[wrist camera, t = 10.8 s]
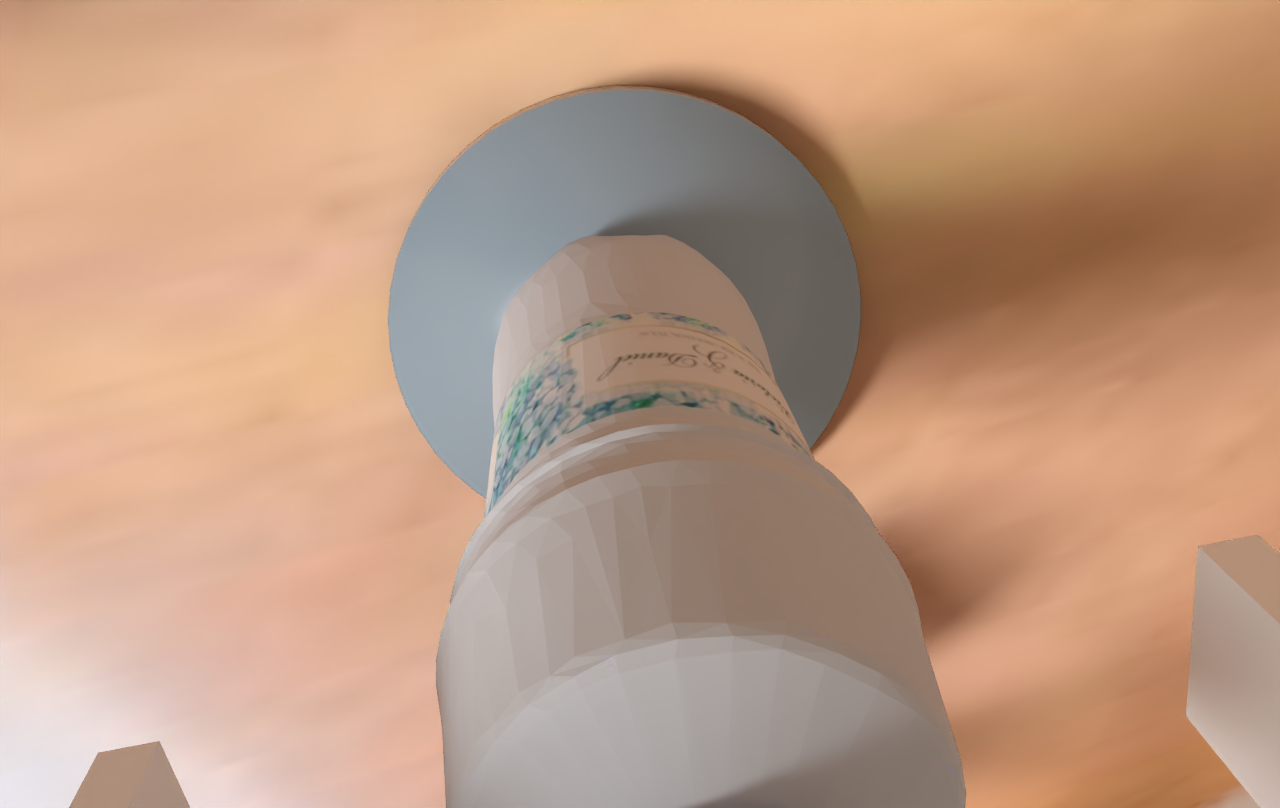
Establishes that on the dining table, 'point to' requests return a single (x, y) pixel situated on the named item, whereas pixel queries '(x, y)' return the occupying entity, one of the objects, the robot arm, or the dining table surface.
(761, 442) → the bottle
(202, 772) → the dining table surface
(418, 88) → the dining table surface
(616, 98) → the dish
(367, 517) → the dining table surface
